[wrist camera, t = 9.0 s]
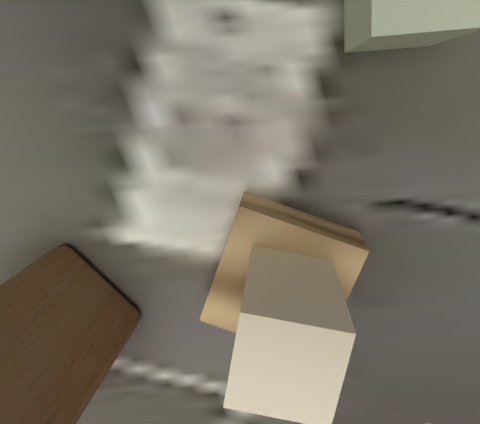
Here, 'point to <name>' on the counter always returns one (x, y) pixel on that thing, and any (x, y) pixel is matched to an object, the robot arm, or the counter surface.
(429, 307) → the counter surface
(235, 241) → the oak base
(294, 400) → the cream block
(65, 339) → the wooden block
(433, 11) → the sage block
